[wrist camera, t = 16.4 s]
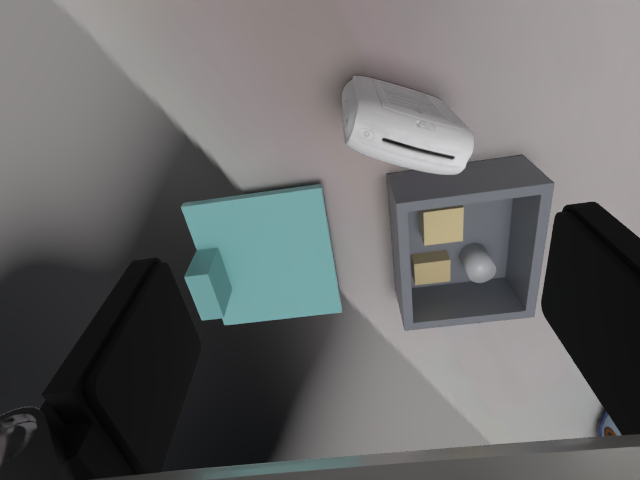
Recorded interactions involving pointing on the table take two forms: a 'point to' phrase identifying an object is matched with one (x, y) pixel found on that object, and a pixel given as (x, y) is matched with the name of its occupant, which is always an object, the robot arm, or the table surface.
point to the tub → (469, 242)
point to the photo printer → (404, 127)
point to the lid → (262, 256)
